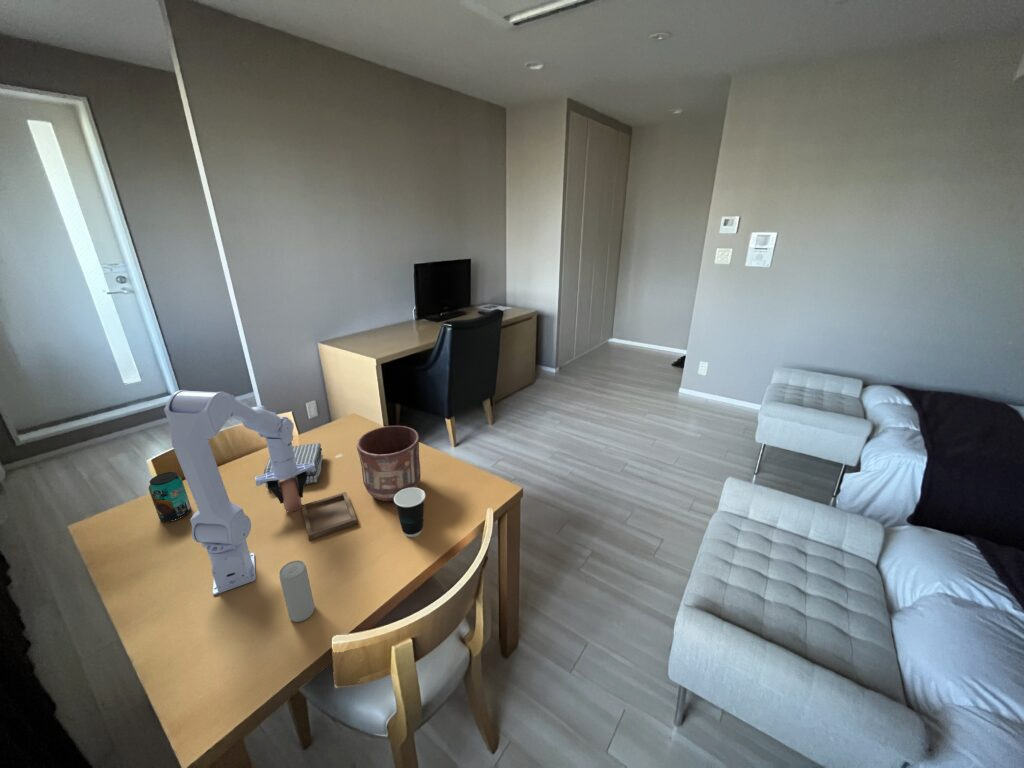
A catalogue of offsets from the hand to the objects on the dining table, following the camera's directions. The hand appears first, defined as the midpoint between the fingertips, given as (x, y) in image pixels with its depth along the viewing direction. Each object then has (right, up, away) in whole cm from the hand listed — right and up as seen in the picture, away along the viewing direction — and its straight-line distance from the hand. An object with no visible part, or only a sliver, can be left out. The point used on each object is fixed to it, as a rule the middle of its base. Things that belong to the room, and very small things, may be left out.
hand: (291, 498), depth 116 cm
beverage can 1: (-31, -4, -3) cm, 31 cm away
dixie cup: (+36, -7, -7) cm, 38 cm away
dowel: (0, -3, +1) cm, 3 cm away
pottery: (+27, 0, +9) cm, 28 cm away
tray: (+12, -4, -3) cm, 13 cm away
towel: (-8, +3, +18) cm, 19 cm away
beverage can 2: (+19, -16, -31) cm, 39 cm away
